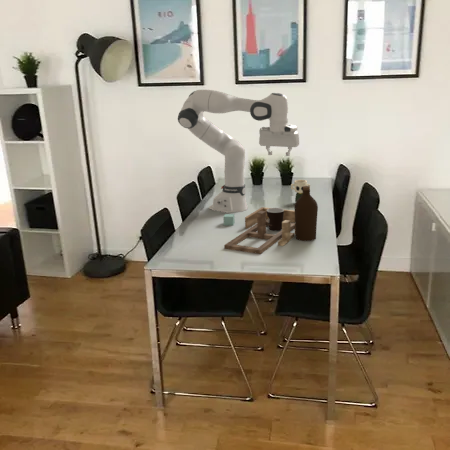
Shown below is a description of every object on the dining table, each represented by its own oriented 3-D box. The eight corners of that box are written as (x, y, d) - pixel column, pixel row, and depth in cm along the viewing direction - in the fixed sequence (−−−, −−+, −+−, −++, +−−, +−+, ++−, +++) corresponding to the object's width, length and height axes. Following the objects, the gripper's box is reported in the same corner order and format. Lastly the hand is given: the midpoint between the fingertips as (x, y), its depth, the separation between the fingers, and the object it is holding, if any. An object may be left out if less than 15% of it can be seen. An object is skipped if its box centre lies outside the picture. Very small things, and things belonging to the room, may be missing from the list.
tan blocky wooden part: (277, 246, 232) (277, 225, 229) (289, 237, 244) (289, 217, 240) (283, 247, 231) (283, 226, 228) (294, 237, 242) (294, 217, 239)
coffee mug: (283, 232, 250) (283, 212, 247) (265, 231, 252) (265, 212, 249) (285, 225, 261) (285, 206, 258) (268, 224, 263) (268, 206, 260)
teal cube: (223, 226, 264) (223, 216, 263) (225, 223, 269) (224, 214, 268) (233, 226, 264) (233, 216, 262) (234, 223, 268) (234, 214, 267)
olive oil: (311, 243, 234) (311, 190, 226) (290, 240, 240) (290, 187, 232) (321, 237, 242) (322, 185, 234) (300, 233, 248) (301, 183, 240)
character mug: (290, 204, 299) (290, 182, 295) (291, 201, 306) (291, 179, 302) (309, 204, 297) (310, 182, 293) (310, 201, 304) (310, 179, 300)
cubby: (245, 228, 258) (244, 217, 257) (262, 217, 275) (261, 207, 273) (297, 235, 245) (297, 223, 243) (312, 223, 262) (312, 212, 260)
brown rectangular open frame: (224, 250, 230) (223, 222, 226) (263, 224, 264) (262, 199, 260) (260, 255, 222) (260, 227, 218) (295, 228, 256) (295, 203, 252)
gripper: (256, 127, 253) (257, 155, 257) (295, 128, 243) (295, 157, 248) (262, 126, 258) (262, 153, 262) (300, 126, 249) (300, 155, 253)
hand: (278, 155), depth 255 cm, fingers open, 8 cm apart
